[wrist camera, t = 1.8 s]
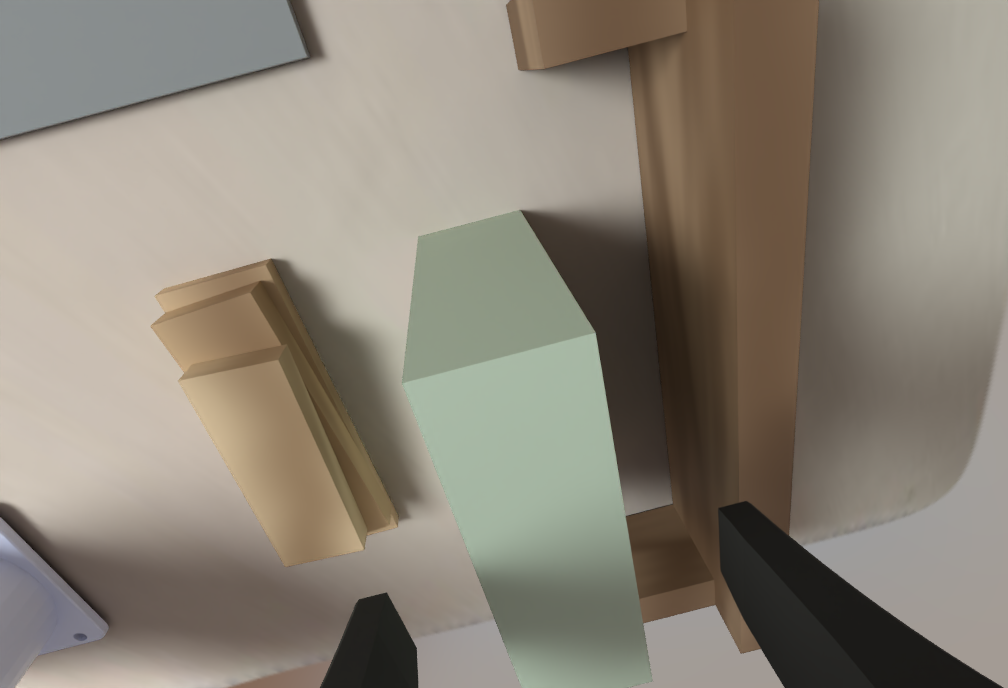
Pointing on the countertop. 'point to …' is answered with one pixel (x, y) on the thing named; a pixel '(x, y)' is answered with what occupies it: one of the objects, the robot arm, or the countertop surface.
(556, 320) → the tall sage green prism
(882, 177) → the countertop surface
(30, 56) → the slate mat
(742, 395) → the walnut rack
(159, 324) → the offcut stack
